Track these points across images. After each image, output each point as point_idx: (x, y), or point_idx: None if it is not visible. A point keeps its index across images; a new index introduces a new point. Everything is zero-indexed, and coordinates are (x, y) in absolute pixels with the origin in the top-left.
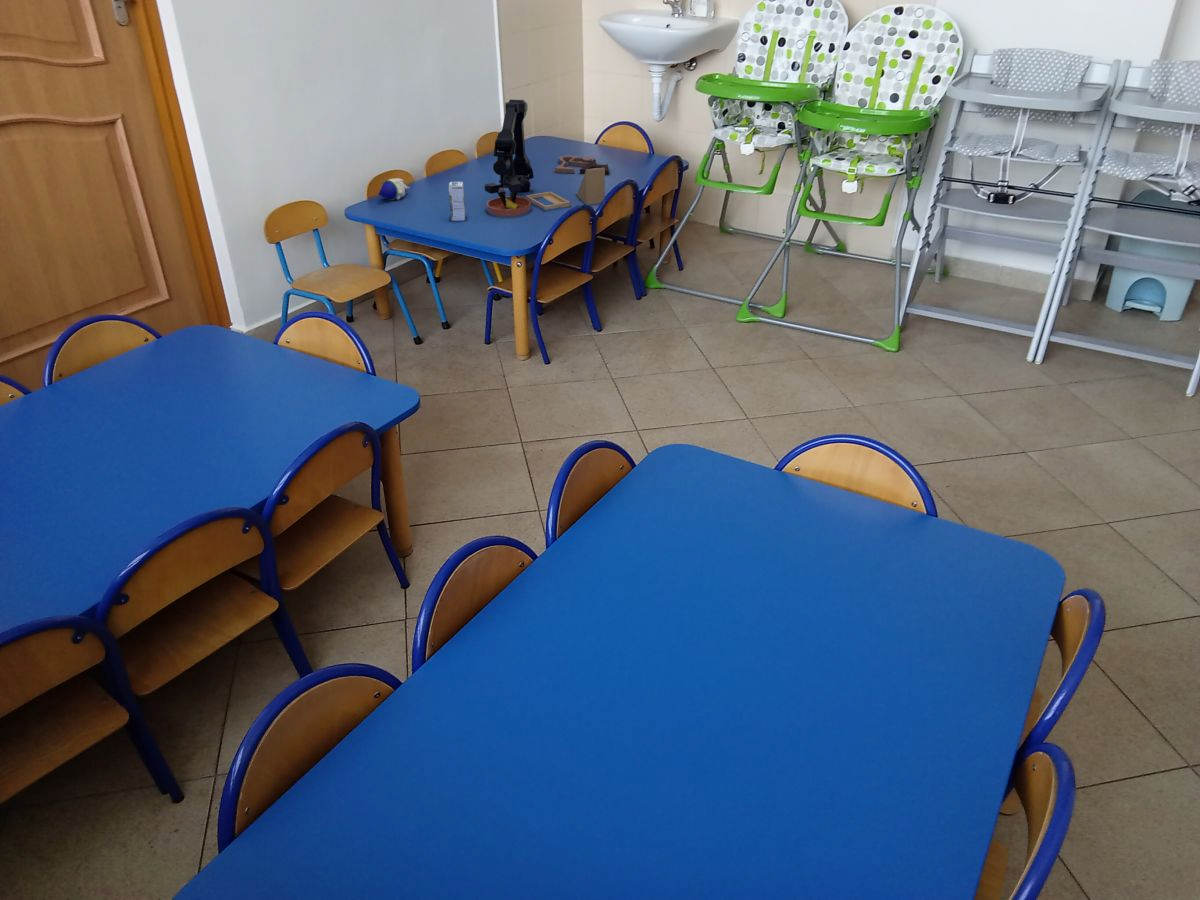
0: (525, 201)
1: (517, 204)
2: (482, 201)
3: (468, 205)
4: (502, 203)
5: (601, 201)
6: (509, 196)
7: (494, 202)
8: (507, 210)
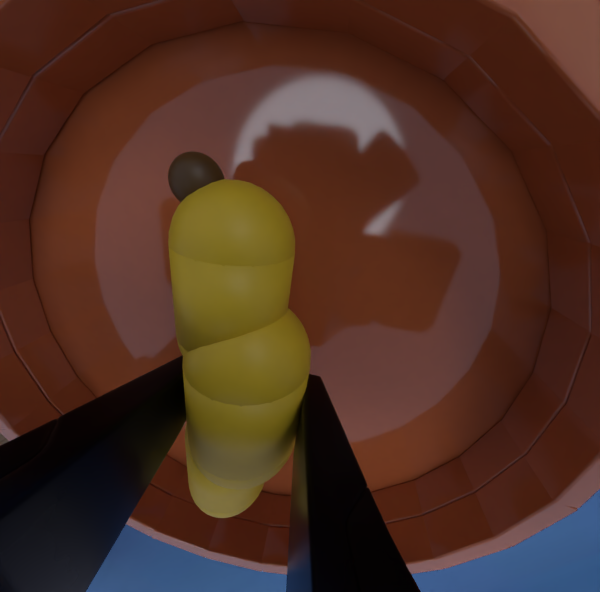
0: (9, 356)
1: None
2: None
3: (440, 587)
4: None
5: None
6: (131, 525)
7: None
8: (597, 26)
